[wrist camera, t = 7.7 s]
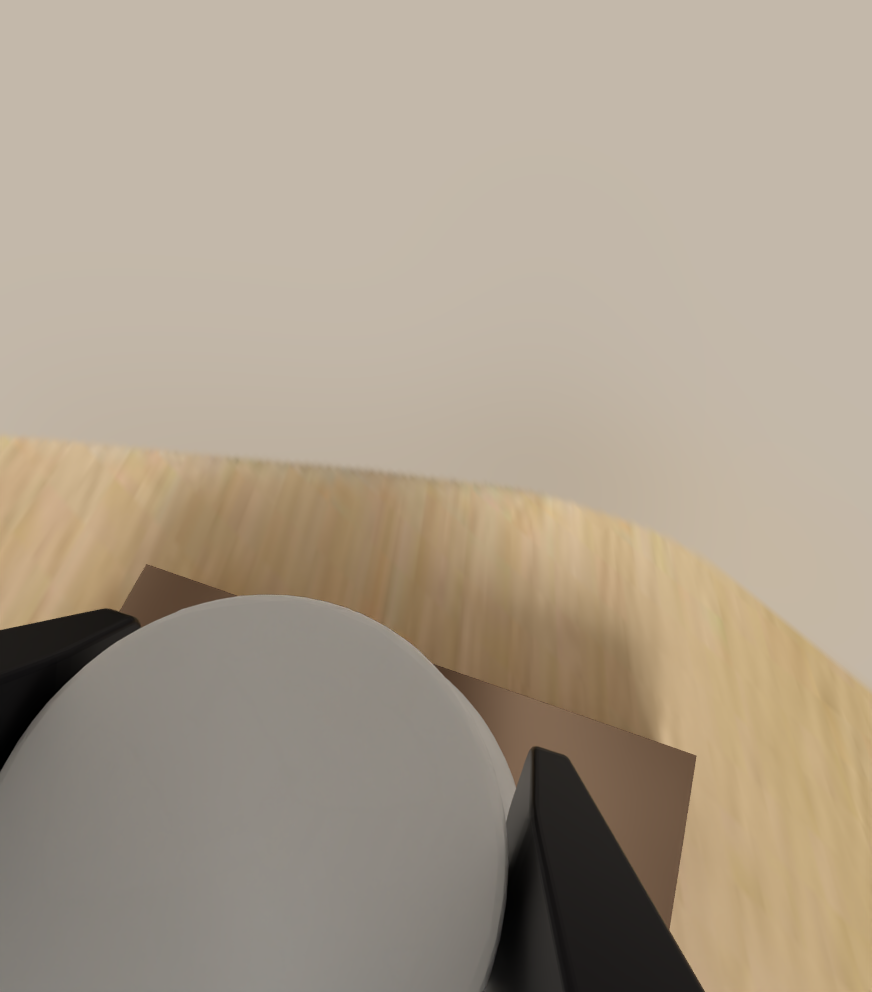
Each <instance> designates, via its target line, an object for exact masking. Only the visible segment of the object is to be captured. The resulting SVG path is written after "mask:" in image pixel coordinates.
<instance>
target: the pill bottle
mask: <svg viewBox="0 0 872 992" xmlns="http://www.w3.org/2000/svg"><path fill="white" fill-rule="evenodd" d="M515 790H516V786H515V783H514V779H513V776H512V774H511V771H510V769H509V767H508V764H507V762H506V759H505V757H504V755H503V753H502V751H501V749H500V747H499V745H498V743H497V741H496V739H495V737H494V736H493V734H492V732H491V731H490V729H489V727H488V726H487V724H486V723H485V721H484V720H483V719H482V717H481V716H480V714H479V713H478V712H477V710H476V709H475V708H474V707H473V706H472V704H471V703H470V702H469V701H468V700H467V699H466V697H465V696H464V695H463V694H462V693H461V692H460V691H459V690H458V689H457V688H456V687H455V686H454V685H453V684H452V683H451V682H450V681H449V680H448V679H447V678H445V677H444V675H443V674H442V673H441V672H440V671H439V670H438V669H437V668H436V667H435V666H434V665H433V664H432V663H431V662H430V661H429V660H428V659H427V658H426V657H425V656H424V655H423V654H422V653H421V652H420V651H419V650H418V649H417V648H416V647H414V646H413V645H412V644H411V643H410V642H408V641H407V640H405V639H404V638H402V637H401V636H399V635H398V634H397V633H395V632H394V631H392V630H391V629H389V628H388V627H386V626H384V625H382V624H380V623H379V622H377V621H375V620H373V619H371V618H369V617H367V616H365V615H363V614H361V613H359V612H355V611H352V610H351V609H349V608H346V607H343V606H339V605H336V604H333V603H329V602H326V601H321V600H316V599H311V598H306V597H298V596H290V595H246V596H236V597H230V598H224V599H219V600H215V601H210V602H206V603H202V604H199V605H195V606H191V607H188V608H184V609H181V610H179V611H177V612H175V613H173V614H170V615H168V616H165V617H163V618H161V619H158V620H156V621H154V622H152V623H150V624H148V625H146V626H144V627H142V628H140V629H138V630H136V631H135V632H133V633H131V634H129V635H128V636H126V637H124V638H122V639H121V640H119V641H117V642H116V643H114V644H113V645H111V646H110V647H109V648H107V649H106V650H104V651H103V652H102V653H101V654H99V655H98V656H97V657H96V658H94V659H93V660H92V661H91V662H89V663H88V664H87V665H86V666H84V667H83V668H82V669H81V670H80V671H79V672H78V673H77V674H76V675H75V676H74V677H72V678H71V679H70V680H69V681H68V682H67V683H66V684H65V685H64V686H63V687H62V688H61V689H60V690H59V691H58V692H57V693H56V694H55V695H54V696H53V697H52V698H51V699H50V700H49V702H48V703H47V704H46V705H45V706H44V707H43V709H42V710H41V711H40V712H39V714H38V715H37V716H36V717H35V719H34V720H33V721H32V722H31V724H30V725H29V727H28V728H27V729H26V731H25V732H24V734H23V735H22V736H21V738H20V739H19V741H18V742H17V744H16V746H15V747H14V749H13V751H12V752H11V754H10V756H9V758H8V759H7V761H6V763H5V764H4V766H3V768H2V769H1V771H0V992H484V990H485V988H486V985H487V982H488V980H489V977H490V974H491V971H492V967H493V964H494V960H495V956H496V953H497V949H498V945H499V942H500V937H501V931H502V925H503V920H504V914H505V908H506V900H507V883H508V867H509V859H508V838H507V827H506V821H507V816H508V812H509V809H510V805H511V802H512V799H513V796H514V793H515Z"/></svg>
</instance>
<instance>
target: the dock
mask: <svg viewBox="0 0 872 992" xmlns="http://www.w3.org/2000/svg"><path fill="white" fill-rule="evenodd" d="M230 597H236V595H234V594H231V593H228V592H225V591H222V590H219V589H216V588H213V587H211V586H208V585H205V584H202V583H199V582H196V581H193V580H190V579H188V578H185V577H182V576H179V575H176V574H173V573H170V572H167V571H165V570H162V569H159V568H156V567H153V566H150V565H147V564H146V566H145V568H144V570H143V571H142V573H141V575H140V577H139V578H138V580H137V582H136V584H135V585H134V587H133V589H132V591H131V592H130V594H129V596H128V597H127V599H126V601H125V603H124V604H123V606H122V608H121V610H120V611H119V612H122V613H125V614H128V615H131V616H134V617H136V618H137V619H138V620H139V621H140V623H141V628H142V627H144V626H146V625H148V624H150V623H152V622H154V621H156V620H158V619H161V618H163V617H165V616H168V615H170V614H173V613H175V612H177V611H179V610H181V609H184V608H188V607H191V606H195V605H199V604H202V603H206V602H210V601H215V600H219V599H224V598H230ZM433 665H434V666H435V667H436V668H437V669H438V670H439V671H440V672H441V673H442V674H443V675H444V677H445V678H447V679H448V680H449V681H450V682H451V683H452V684H453V685H454V686H455V687H456V688H457V689H458V690H459V691H460V692H461V693H462V694H463V695H464V696H465V697H466V699H467V700H468V701H469V702H470V703H471V704H472V706H473V707H474V708H475V709H476V710H477V712H478V713H479V714H480V716H481V717H482V719H483V720H484V721H485V723H486V724H487V726H488V727H489V729H490V731H491V732H492V734H493V736H494V737H495V739H496V741H497V743H498V745H499V747H500V749H501V751H502V753H503V755H504V757H505V759H506V762H507V764H508V767H509V769H510V771H511V774H512V776H513V779H514V783H515V786H516V787H517V784H518V781H519V778H520V775H521V772H522V769H523V766H524V763H525V760H526V757H527V755H528V752H529V750H530V749H531V748H532V747H534V746H539V747H542V748H545V749H548V750H551V751H555V752H558V753H561V754H564V755H566V756H567V757H568V758H569V759H570V760H571V762H572V764H573V766H574V767H575V769H576V771H577V772H578V774H579V776H580V778H581V779H582V781H583V783H584V784H585V786H586V788H587V790H588V791H589V793H590V795H591V797H592V798H593V800H594V802H595V803H596V805H597V807H598V809H599V810H600V812H601V814H602V815H603V817H604V819H605V821H606V822H607V824H608V826H609V827H610V829H611V831H612V833H613V834H614V836H615V838H616V840H617V841H618V843H619V845H620V846H621V848H622V850H623V852H624V853H625V855H626V857H627V858H628V860H629V862H630V864H631V865H632V867H633V869H634V871H635V872H636V874H637V876H638V877H639V879H640V881H641V883H642V884H643V886H644V888H645V889H646V891H647V893H648V895H649V896H650V898H651V900H652V901H653V903H654V905H655V907H656V908H657V910H658V912H659V914H660V915H661V917H662V919H663V920H664V922H665V924H666V926H667V927H668V929H669V928H670V922H671V915H672V909H673V903H674V896H675V890H676V883H677V877H678V871H679V864H680V858H681V851H682V845H683V839H684V832H685V826H686V819H687V813H688V807H689V800H690V794H691V787H692V781H693V775H694V768H695V762H696V755H693V754H690V753H687V752H684V751H681V750H679V749H676V748H673V747H670V746H667V745H664V744H661V743H658V742H656V741H653V740H650V739H647V738H644V737H641V736H638V735H636V734H633V733H630V732H627V731H624V730H621V729H618V728H615V727H613V726H610V725H607V724H604V723H601V722H598V721H595V720H592V719H590V718H587V717H584V716H581V715H578V714H575V713H572V712H569V711H567V710H564V709H561V708H558V707H555V706H552V705H549V704H547V703H544V702H541V701H538V700H535V699H532V698H529V697H526V696H524V695H521V694H518V693H515V692H512V691H509V690H506V689H503V688H501V687H498V686H495V685H492V684H489V683H486V682H483V681H480V680H478V679H475V678H472V677H469V676H466V675H463V674H460V673H457V672H455V671H452V670H449V669H446V668H443V667H440V666H437V665H435V664H433Z"/></svg>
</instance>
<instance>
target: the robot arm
mask: <svg viewBox="0 0 872 992" xmlns="http://www.w3.org/2000/svg"><path fill="white" fill-rule="evenodd" d="M140 628H141V623H140V621H139V620H138V619H137V618H136V617H134V616H131V615H128V614H125V613H122V612H119V611H115V610H112V609H100V610H95V611H90V612H85V613H80V614H76V615H71V616H66V617H61V618H56V619H52V620H47V621H42V622H37V623H33V624H28V625H23V626H18V627H13V628H9V629H4V630H0V771H1V769H2V768H3V766H4V764H5V763H6V761H7V759H8V758H9V756H10V754H11V752H12V751H13V749H14V747H15V746H16V744H17V742H18V741H19V739H20V738H21V736H22V735H23V734H24V732H25V731H26V729H27V728H28V727H29V725H30V724H31V722H32V721H33V720H34V719H35V717H36V716H37V715H38V714H39V712H40V711H41V710H42V709H43V707H44V706H45V705H46V704H47V703H48V702H49V700H50V699H51V698H52V697H53V696H54V695H55V694H56V693H57V692H58V691H59V690H60V689H61V688H62V687H63V686H64V685H65V684H66V683H67V682H68V681H69V680H70V679H71V678H72V677H74V676H75V675H76V674H77V673H78V672H79V671H80V670H81V669H82V668H83V667H84V666H86V665H87V664H88V663H89V662H91V661H92V660H93V659H94V658H96V657H97V656H98V655H99V654H101V653H102V652H103V651H104V650H106V649H107V648H109V647H110V646H111V645H113V644H114V643H116V642H117V641H119V640H121V639H122V638H124V637H126V636H128V635H129V634H131V633H133V632H135V631H136V630H138V629H140ZM506 827H507V838H508V859H509V867H508V883H507V900H506V908H505V914H504V920H503V925H502V931H501V937H500V942H499V945H498V949H497V953H496V956H495V960H494V964H493V967H492V971H491V974H490V977H489V980H488V982H487V985H486V988H485V990H484V992H705V991H704V989H703V988H702V986H701V984H700V982H699V981H698V979H697V977H696V975H695V974H694V972H693V970H692V969H691V967H690V965H689V963H688V962H687V960H686V958H685V957H684V955H683V953H682V951H681V950H680V948H679V946H678V945H677V943H676V941H675V939H674V938H673V936H672V934H671V932H670V931H669V929H668V927H667V926H666V924H665V922H664V920H663V919H662V917H661V915H660V914H659V912H658V910H657V908H656V907H655V905H654V903H653V901H652V900H651V898H650V896H649V895H648V893H647V891H646V889H645V888H644V886H643V884H642V883H641V881H640V879H639V877H638V876H637V874H636V872H635V871H634V869H633V867H632V865H631V864H630V862H629V860H628V858H627V857H626V855H625V853H624V852H623V850H622V848H621V846H620V845H619V843H618V841H617V840H616V838H615V836H614V834H613V833H612V831H611V829H610V827H609V826H608V824H607V822H606V821H605V819H604V817H603V815H602V814H601V812H600V810H599V809H598V807H597V805H596V803H595V802H594V800H593V798H592V797H591V795H590V793H589V791H588V790H587V788H586V786H585V784H584V783H583V781H582V779H581V778H580V776H579V774H578V772H577V771H576V769H575V767H574V766H573V764H572V762H571V760H570V759H569V758H568V757H567V756H566V755H564V754H561V753H558V752H555V751H551V750H548V749H545V748H542V747H539V746H534V747H532V748H531V749H530V750H529V752H528V755H527V757H526V760H525V763H524V766H523V769H522V772H521V775H520V778H519V781H518V784H517V787H516V790H515V793H514V796H513V799H512V802H511V805H510V809H509V812H508V816H507V821H506Z"/></svg>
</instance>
